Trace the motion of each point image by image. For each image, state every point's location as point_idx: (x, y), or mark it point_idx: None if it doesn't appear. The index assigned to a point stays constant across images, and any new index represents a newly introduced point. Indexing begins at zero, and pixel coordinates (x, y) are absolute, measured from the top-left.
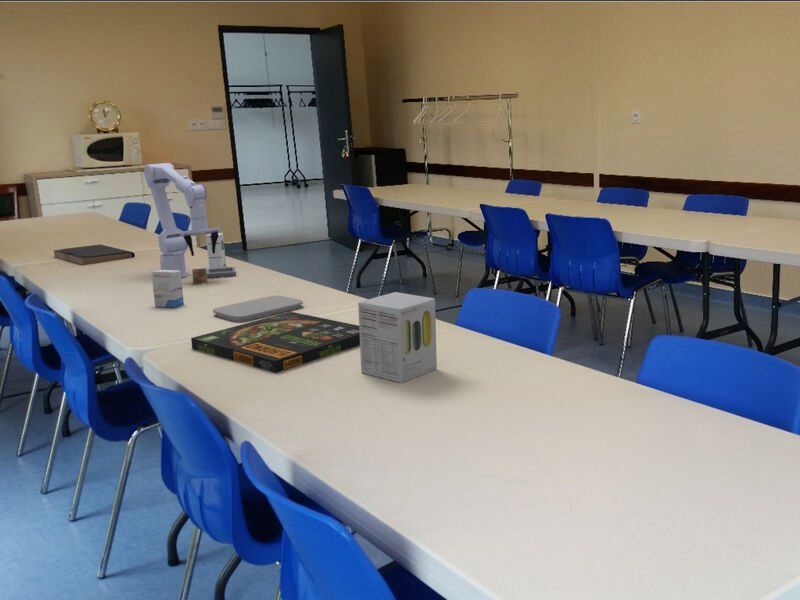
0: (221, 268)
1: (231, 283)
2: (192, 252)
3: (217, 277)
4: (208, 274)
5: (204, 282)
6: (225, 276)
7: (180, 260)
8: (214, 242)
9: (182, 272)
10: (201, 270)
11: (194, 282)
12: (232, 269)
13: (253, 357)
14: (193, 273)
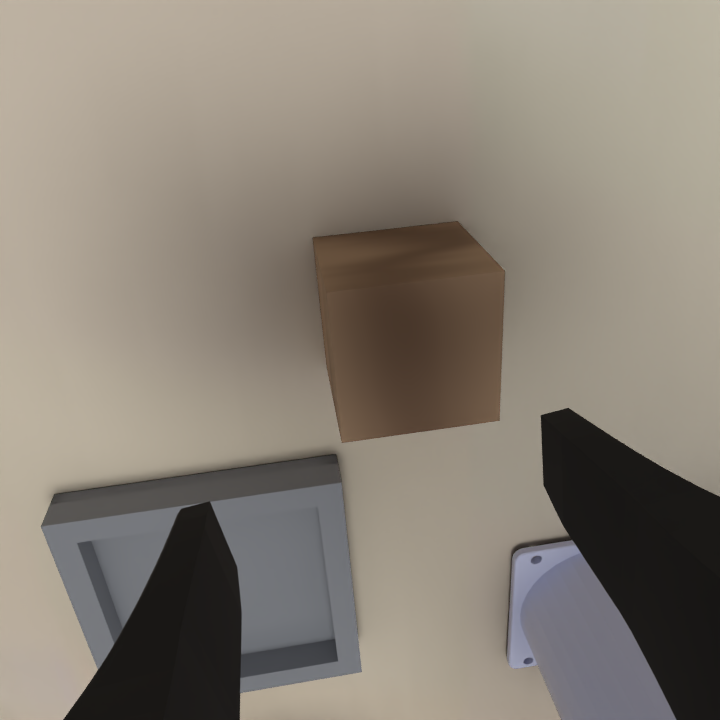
0: None
1: (8, 151)
2: (591, 437)
3: (237, 471)
4: (323, 483)
5: (342, 237)
6: (158, 484)
7: (616, 681)
8: (128, 675)
9: (557, 590)
10: (388, 314)
11: (451, 230)
12: None
13: None
14: (483, 264)
